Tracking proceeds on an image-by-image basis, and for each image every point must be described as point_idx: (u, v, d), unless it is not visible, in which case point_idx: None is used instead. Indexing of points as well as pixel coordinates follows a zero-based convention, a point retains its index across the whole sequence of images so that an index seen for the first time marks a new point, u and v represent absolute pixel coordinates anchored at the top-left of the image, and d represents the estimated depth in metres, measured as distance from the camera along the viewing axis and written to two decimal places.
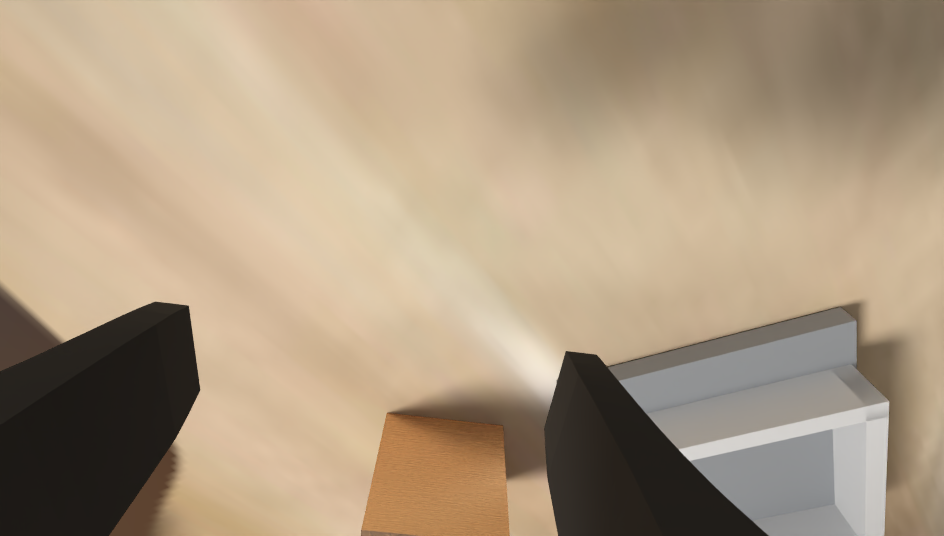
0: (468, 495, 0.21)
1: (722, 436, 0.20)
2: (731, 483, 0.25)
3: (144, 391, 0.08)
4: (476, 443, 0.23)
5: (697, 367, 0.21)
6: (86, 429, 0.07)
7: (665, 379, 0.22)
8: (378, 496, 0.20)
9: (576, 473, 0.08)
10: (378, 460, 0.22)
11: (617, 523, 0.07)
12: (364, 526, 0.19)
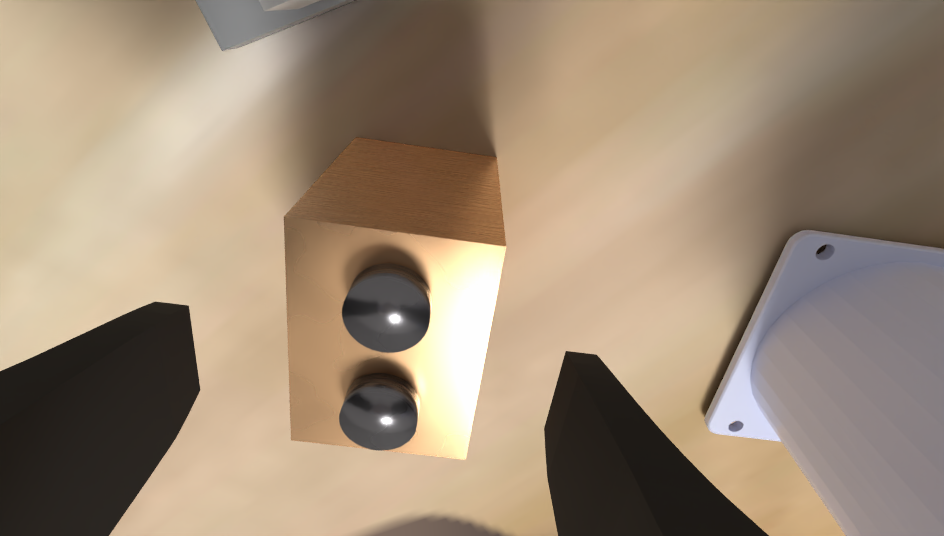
0: None
1: None
2: None
3: (144, 391, 0.08)
4: None
5: None
6: (86, 429, 0.07)
7: None
8: None
9: (576, 473, 0.08)
10: None
11: (617, 523, 0.07)
12: (293, 432, 0.12)
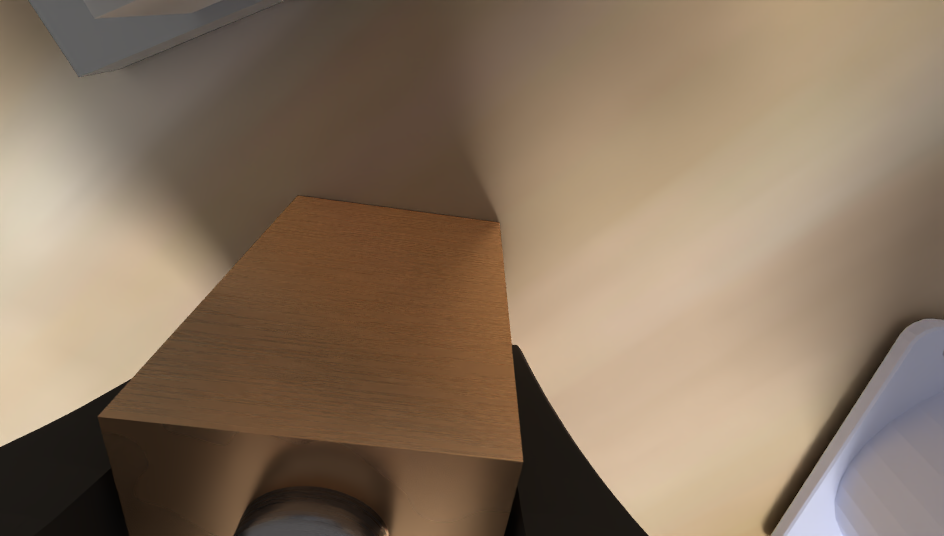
0: None
1: None
2: None
3: None
4: None
5: None
6: None
7: None
8: None
9: None
10: None
11: None
12: None
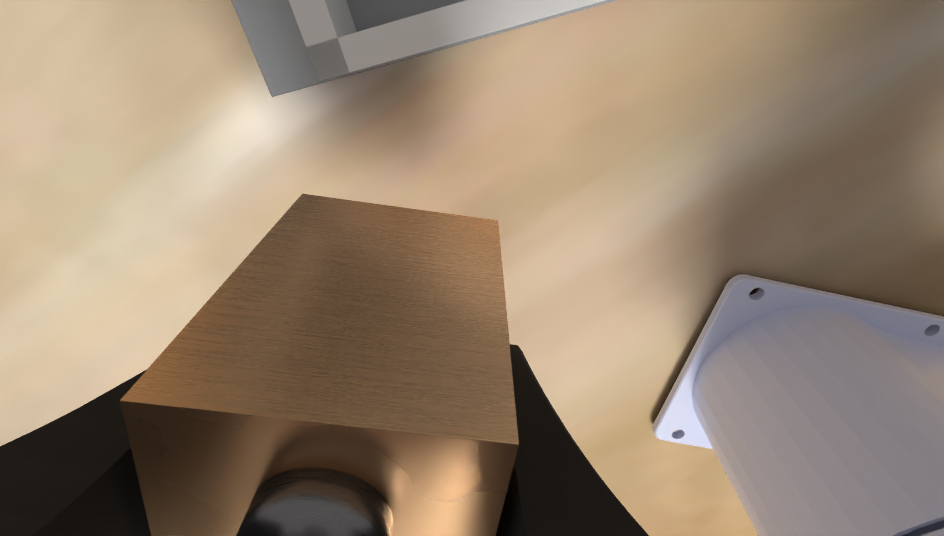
0: None
1: None
2: None
3: None
4: None
5: None
6: None
7: None
8: None
9: None
10: None
11: (503, 511, 0.07)
12: None
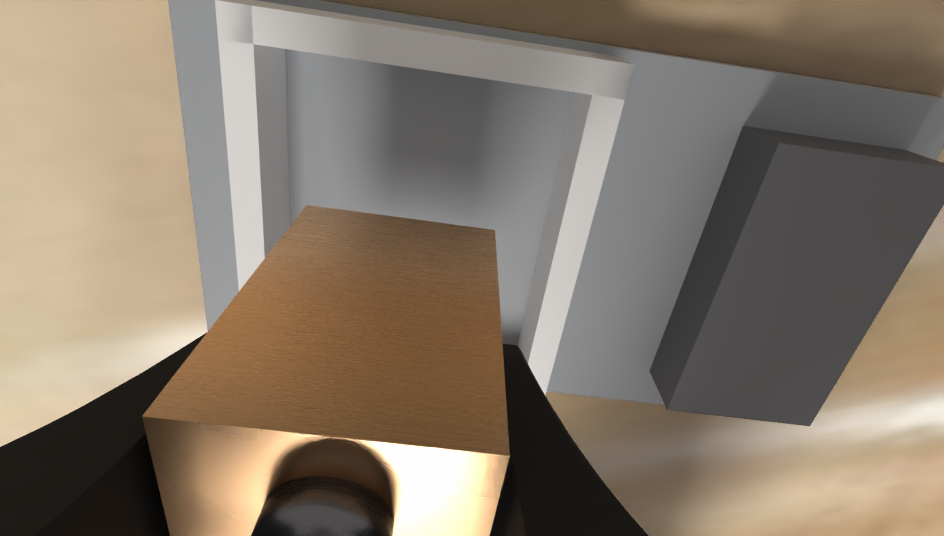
0: None
1: (237, 241, 0.14)
2: (446, 219, 0.16)
3: None
4: None
5: (203, 204, 0.16)
6: None
7: (214, 244, 0.17)
8: None
9: None
10: None
11: (503, 511, 0.07)
12: None
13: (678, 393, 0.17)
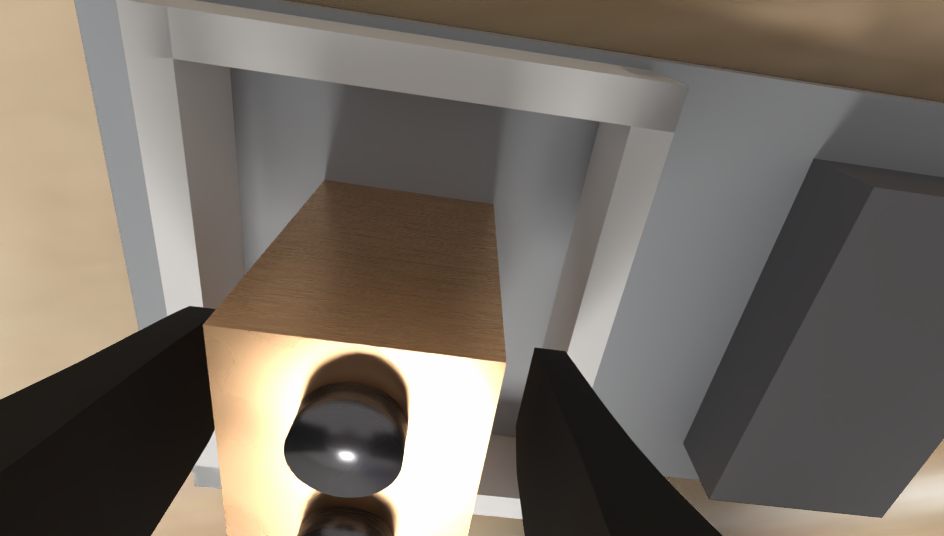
0: None
1: (170, 308, 0.11)
2: None
3: (182, 395, 0.08)
4: None
5: (137, 253, 0.13)
6: (131, 434, 0.07)
7: (154, 300, 0.14)
8: None
9: (540, 469, 0.08)
10: None
11: (572, 519, 0.07)
12: None
13: (723, 481, 0.14)
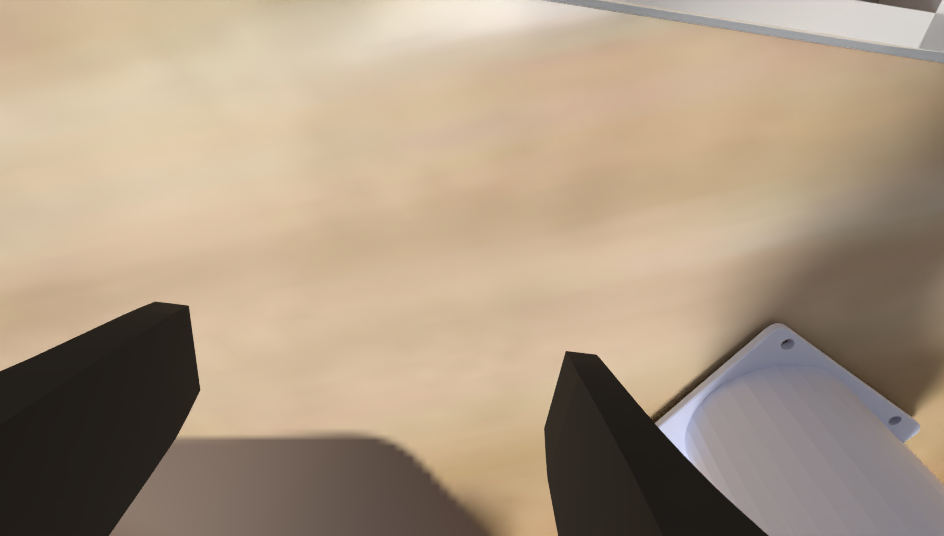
0: None
1: None
2: None
3: (144, 391, 0.08)
4: None
5: None
6: (86, 429, 0.07)
7: None
8: None
9: (576, 473, 0.08)
10: None
11: (617, 523, 0.07)
12: None
13: None
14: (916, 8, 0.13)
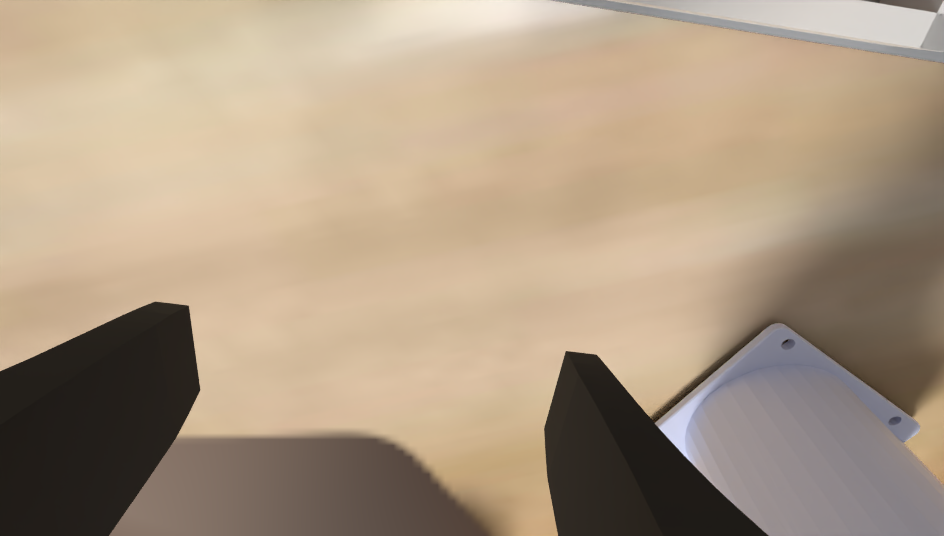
0: None
1: None
2: None
3: (144, 391, 0.08)
4: None
5: None
6: (86, 429, 0.07)
7: None
8: None
9: (576, 473, 0.08)
10: None
11: (617, 523, 0.07)
12: None
13: None
14: (917, 7, 0.13)
